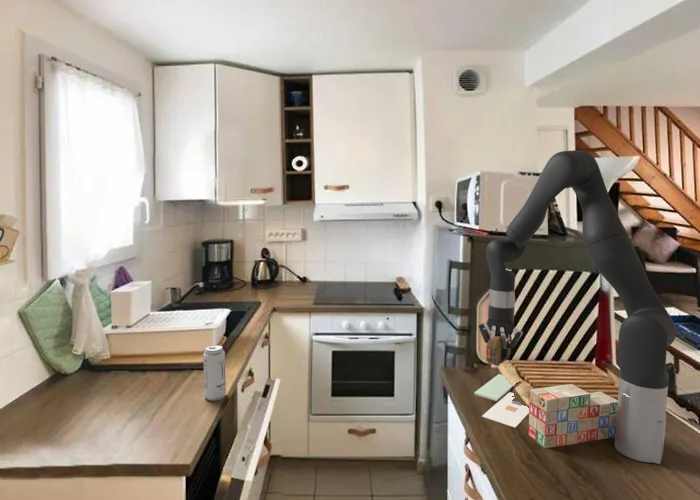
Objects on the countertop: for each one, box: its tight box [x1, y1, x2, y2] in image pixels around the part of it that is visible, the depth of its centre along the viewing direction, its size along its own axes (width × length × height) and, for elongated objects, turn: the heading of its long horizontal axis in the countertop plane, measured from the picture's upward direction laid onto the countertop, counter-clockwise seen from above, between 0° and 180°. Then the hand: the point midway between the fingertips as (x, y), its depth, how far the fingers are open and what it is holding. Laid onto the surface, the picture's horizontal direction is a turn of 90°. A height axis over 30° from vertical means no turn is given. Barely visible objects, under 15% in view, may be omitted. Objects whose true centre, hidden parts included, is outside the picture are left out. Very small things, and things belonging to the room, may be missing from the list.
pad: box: [474, 373, 513, 402], centre depth 136 cm, size 7×19×1 cm, turn 139°
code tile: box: [481, 391, 529, 428], centre depth 122 cm, size 9×20×1 cm, turn 140°
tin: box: [485, 333, 513, 367], centre depth 134 cm, size 15×3×8 cm, turn 139°
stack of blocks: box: [527, 383, 618, 449], centre depth 107 cm, size 21×6×12 cm, turn 104°
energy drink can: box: [203, 344, 227, 402], centre depth 128 cm, size 6×6×15 cm
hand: (498, 358), depth 135 cm, fingers closed on tin, 2 cm apart
